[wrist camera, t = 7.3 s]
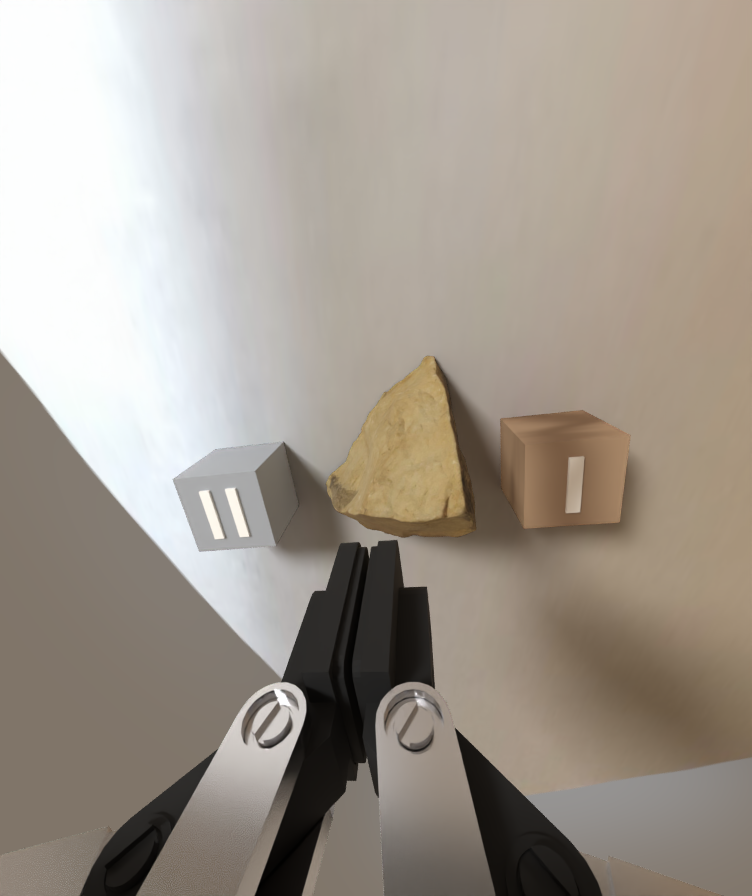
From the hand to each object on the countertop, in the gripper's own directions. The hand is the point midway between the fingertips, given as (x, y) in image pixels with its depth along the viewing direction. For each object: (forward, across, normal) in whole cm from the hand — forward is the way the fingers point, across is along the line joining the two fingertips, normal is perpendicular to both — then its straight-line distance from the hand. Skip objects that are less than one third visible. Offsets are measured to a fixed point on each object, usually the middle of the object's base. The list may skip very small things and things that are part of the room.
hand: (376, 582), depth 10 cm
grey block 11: (+14, +10, +2) cm, 17 cm away
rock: (+14, +1, 0) cm, 14 cm away
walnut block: (+14, -9, +2) cm, 17 cm away
